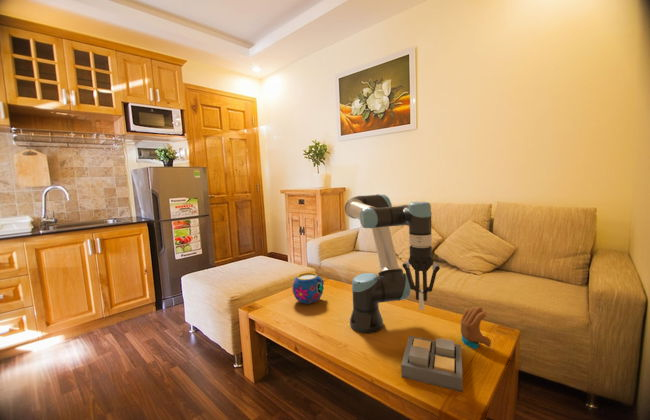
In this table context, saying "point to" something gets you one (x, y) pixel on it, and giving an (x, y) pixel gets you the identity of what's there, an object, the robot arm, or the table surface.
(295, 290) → the ceramic pot
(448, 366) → the ochre button near right
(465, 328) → the toy
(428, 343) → the ochre button far left
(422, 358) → the grey button near left
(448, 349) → the grey button far right
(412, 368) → the button board
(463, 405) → the table surface
